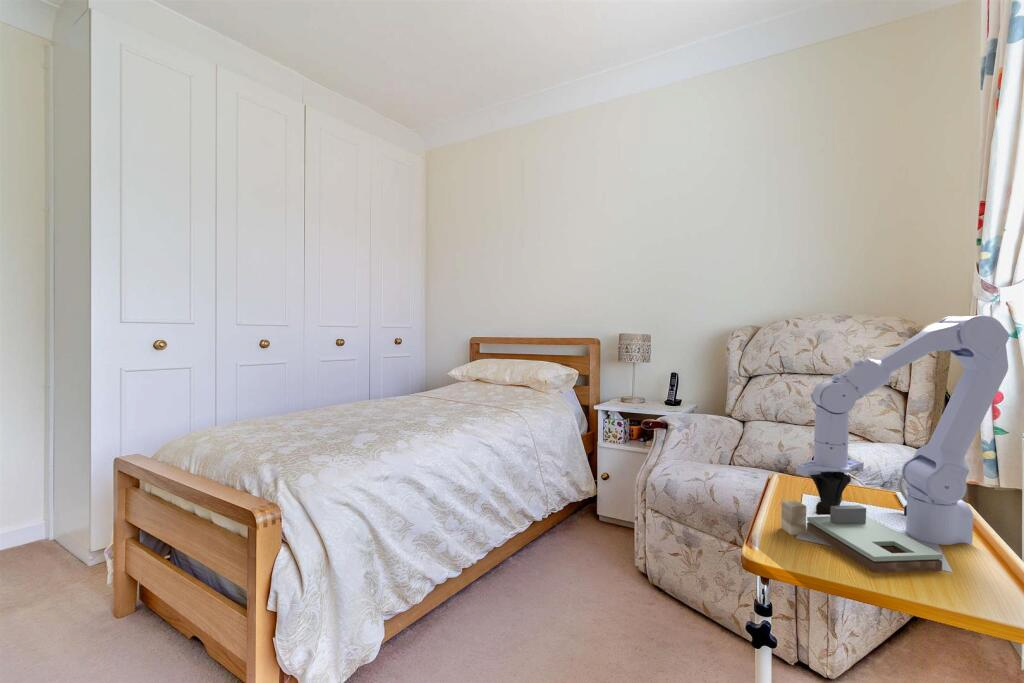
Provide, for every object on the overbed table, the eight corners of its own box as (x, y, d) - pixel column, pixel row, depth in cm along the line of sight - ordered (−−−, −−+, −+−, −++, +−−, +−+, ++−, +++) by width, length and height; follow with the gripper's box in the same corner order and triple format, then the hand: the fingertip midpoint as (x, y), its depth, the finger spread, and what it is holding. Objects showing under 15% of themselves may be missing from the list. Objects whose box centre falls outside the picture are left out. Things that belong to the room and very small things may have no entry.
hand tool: (837, 523, 102) (838, 501, 102) (815, 517, 105) (816, 496, 104) (851, 499, 116) (852, 480, 116) (831, 495, 119) (832, 476, 118)
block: (795, 534, 96) (796, 500, 95) (805, 541, 93) (806, 506, 92) (780, 535, 95) (781, 500, 95) (790, 542, 92) (791, 506, 92)
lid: (864, 519, 95) (865, 500, 95) (942, 559, 79) (943, 536, 79) (807, 520, 94) (807, 501, 94) (874, 561, 78) (874, 538, 78)
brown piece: (864, 535, 95) (864, 520, 95) (941, 578, 79) (942, 560, 79) (806, 537, 94) (807, 522, 94) (873, 581, 78) (874, 563, 78)
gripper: (818, 448, 90) (816, 519, 91) (879, 444, 94) (876, 512, 94) (788, 439, 97) (786, 505, 98) (846, 436, 101) (844, 499, 101)
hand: (828, 508), depth 97 cm, fingers closed
